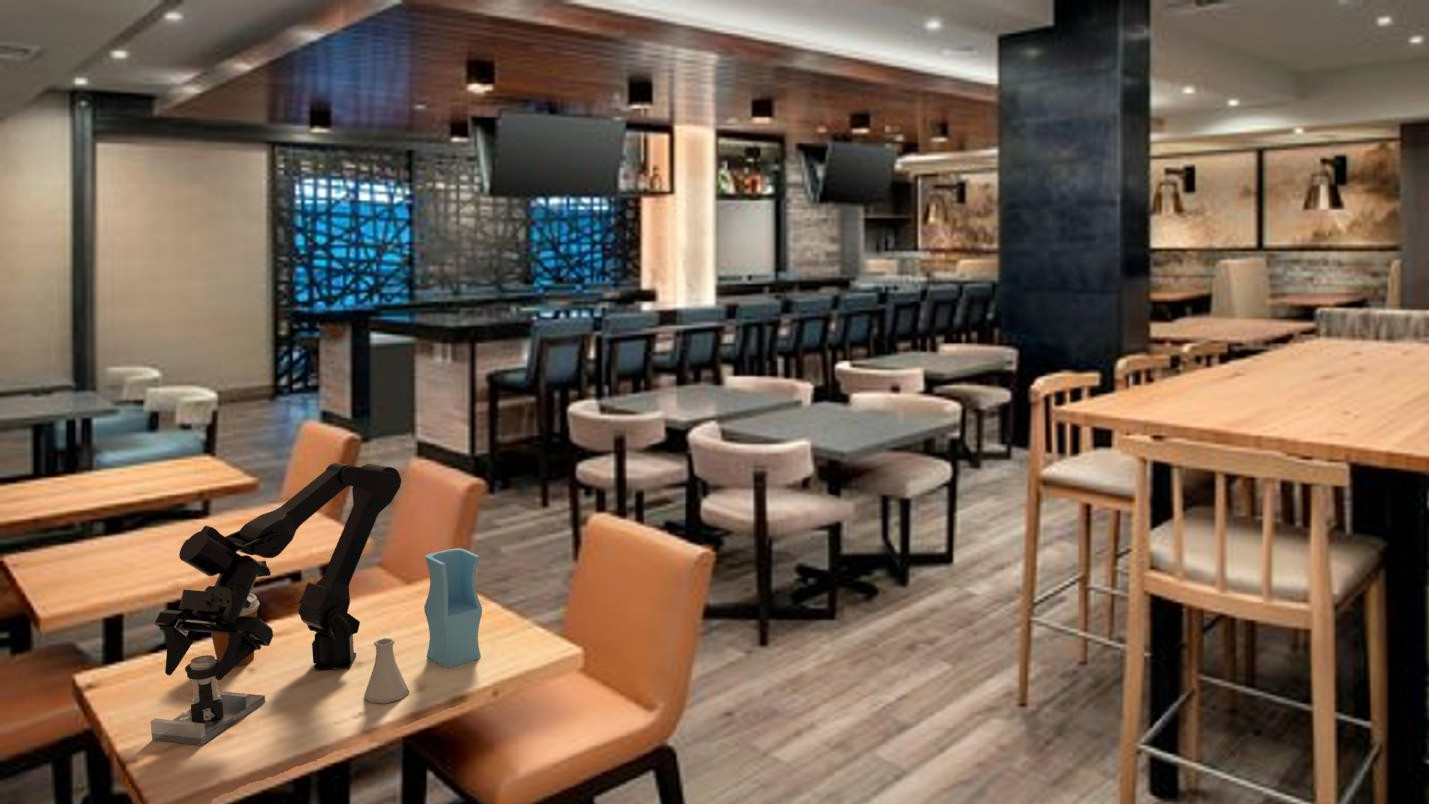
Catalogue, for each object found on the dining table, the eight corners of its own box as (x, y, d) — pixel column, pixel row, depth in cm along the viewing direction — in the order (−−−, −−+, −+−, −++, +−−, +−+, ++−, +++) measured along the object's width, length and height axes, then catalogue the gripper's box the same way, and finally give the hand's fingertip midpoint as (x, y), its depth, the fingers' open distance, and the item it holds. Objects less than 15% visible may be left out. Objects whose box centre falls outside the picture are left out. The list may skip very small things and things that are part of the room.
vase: (445, 668, 193) (441, 564, 190) (426, 656, 199) (421, 555, 196) (483, 657, 198) (480, 556, 195) (463, 645, 204) (459, 547, 201)
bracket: (219, 697, 181) (218, 680, 180) (265, 702, 179) (264, 684, 179) (152, 740, 165) (150, 721, 165) (201, 745, 164) (200, 726, 163)
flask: (384, 708, 177) (381, 652, 175) (356, 698, 180) (353, 643, 179) (417, 693, 183) (414, 638, 181) (389, 683, 186) (386, 630, 185)
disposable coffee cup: (209, 655, 199) (204, 595, 198) (263, 648, 203) (259, 589, 201) (206, 674, 191) (201, 611, 189) (263, 666, 194) (258, 604, 193)
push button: (180, 729, 166) (175, 669, 165) (180, 716, 171) (175, 658, 170) (226, 720, 169) (221, 661, 168) (224, 707, 174) (220, 650, 173)
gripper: (157, 563, 172) (112, 652, 163) (257, 570, 168) (216, 662, 159) (194, 593, 181) (153, 679, 172) (289, 600, 177) (253, 689, 168)
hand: (192, 676), depth 168 cm, fingers open, 9 cm apart
